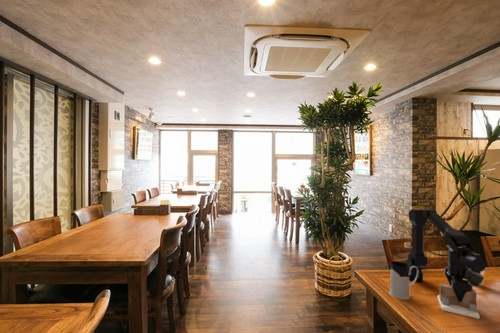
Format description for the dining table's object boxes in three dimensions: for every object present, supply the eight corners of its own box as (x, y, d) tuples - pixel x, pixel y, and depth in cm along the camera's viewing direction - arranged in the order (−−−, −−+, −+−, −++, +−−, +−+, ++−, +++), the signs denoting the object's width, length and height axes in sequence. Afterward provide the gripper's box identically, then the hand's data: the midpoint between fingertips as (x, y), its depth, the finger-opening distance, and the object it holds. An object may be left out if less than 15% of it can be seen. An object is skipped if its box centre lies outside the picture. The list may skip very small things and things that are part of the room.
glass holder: (385, 290, 120) (385, 260, 120) (411, 289, 121) (411, 260, 121) (397, 299, 111) (397, 268, 111) (425, 298, 112) (425, 267, 112)
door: (440, 301, 107) (440, 285, 107) (439, 298, 109) (439, 283, 109) (476, 309, 101) (476, 293, 101) (474, 305, 103) (474, 289, 103)
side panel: (442, 310, 103) (442, 300, 103) (437, 298, 113) (437, 288, 113) (479, 318, 97) (479, 308, 97) (470, 305, 107) (470, 295, 107)
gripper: (489, 274, 93) (489, 313, 93) (474, 258, 109) (474, 292, 109) (453, 268, 99) (453, 305, 98) (443, 254, 115) (443, 285, 115)
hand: (456, 296), depth 105 cm, fingers open, 9 cm apart
